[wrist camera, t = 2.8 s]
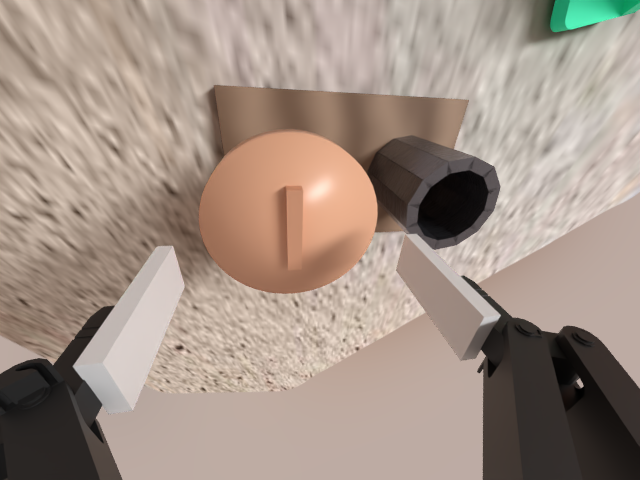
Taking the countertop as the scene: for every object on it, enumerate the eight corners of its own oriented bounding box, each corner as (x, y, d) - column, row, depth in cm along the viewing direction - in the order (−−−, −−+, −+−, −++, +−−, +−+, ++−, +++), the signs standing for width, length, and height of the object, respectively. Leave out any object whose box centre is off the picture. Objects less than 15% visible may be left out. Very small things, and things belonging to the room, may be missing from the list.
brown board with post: (237, 232, 32) (227, 281, 24) (216, 85, 24) (191, 85, 16) (422, 224, 37) (465, 263, 29) (459, 99, 28) (535, 105, 20)
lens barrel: (354, 169, 29) (390, 203, 20) (417, 119, 27) (484, 135, 19) (387, 218, 33) (428, 263, 25) (443, 177, 31) (508, 211, 23)
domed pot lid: (224, 264, 23) (213, 307, 19) (197, 120, 17) (172, 133, 12) (349, 256, 25) (367, 293, 21) (368, 126, 19) (398, 139, 14)
